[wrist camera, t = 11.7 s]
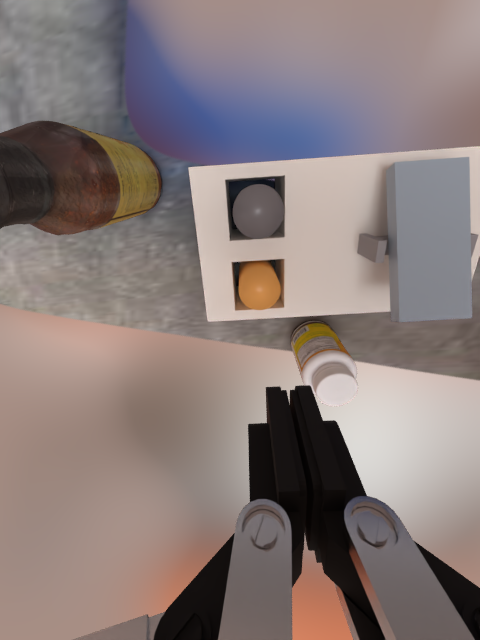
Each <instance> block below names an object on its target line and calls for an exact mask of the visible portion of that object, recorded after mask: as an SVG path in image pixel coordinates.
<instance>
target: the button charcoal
mask: <svg viewBox="0 0 480 640" xmlns="http://www.w3.org/2000/svg"><path fill="white" fill-rule="evenodd" d="M283 215H284V206H283V202H282V199H281V197H280V196H279V194H278V193H277V192H276V191H275V190H274V189H273V188H271V187H269V186H267V185H263V184H255V185H251V186H248V187H246V188H244V189H243V190H242V191H241V192H240V193H239V194H238V196H237V198H236V200H235V202H234V206H233V219H234V222H235V225H236V226H237V228H238V229H239V231H240V232H241V233H243V234H244V235H245V236H247V237H250V238H253V239H262V238H266V237H268V236H270V235H272V234H273V233H274V232H275V231H276V230H277V229H278V228H279V226H280V225H281V222H282V220H283Z"/></svg>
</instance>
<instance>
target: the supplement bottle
mask: <svg viewBox="0 0 480 640" xmlns="http://www.w3.org/2000/svg"><path fill="white" fill-rule="evenodd" d="M291 346H292V350H293V353H294V356H295V359H296V362H297V365H298V368H299V371H300V374H301V377H302V380H303V383H304V385H310V386H311V388H312V391H313V394H315V395H316V396H317V398H318V399H319V401H320V402H322V403H323V404H325V405H328V406H341V405H344V404H346V403H348V402H350V401H351V400H352V399H353V398H354V397H355V396H356V394H357V391H358V384H357V382H356V376H357V368H356V365H355V363H354V361H353V359H352V358H351V356H350V355H349V353H348V352H347V350H346V349H345V347H344V346H343V344H342V343H341V341H340V340H339V339H338V337H337V335H336V334H335V332H334V331H333V330H332V328H331V327H330V326H329V325H327V324H326V323H324V322H321V321H309V322H306V323H303V324H302V325H300V326H299V327H298V328H297V329H296V330H295V331H294V333H293V335H292V338H291Z"/></svg>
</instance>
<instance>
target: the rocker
mask: <svg viewBox="0 0 480 640" xmlns="http://www.w3.org/2000/svg"><path fill="white" fill-rule="evenodd" d="M386 187H387V219H388V242H387V244H386V250H385V255H389V283H390V315H391V321H394V322H411V321H429V320H447V319H466V318H472V278H471V221H470V164H469V157H459V158H445V159H431V160H417V161H403V162H394V163H393V164H392V165H391V166H390V167H389V168H388V169H387V170H386Z"/></svg>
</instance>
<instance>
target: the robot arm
mask: <svg viewBox="0 0 480 640" xmlns="http://www.w3.org/2000/svg"><path fill="white" fill-rule="evenodd" d="M266 408H267V423H260V424H249V425H248V432H249V433H248V434H249V476H250V478H249V480H250V503H248V504H247V505H246V506H245V507H244V508H243V509H242V511H241V512H240V514H239V516H238V519H237V523H236V529H235V533H234V534H233V535H232V536H231V538H230V539H229V540H228V541H227V542H226V543H225V544H224V545H223V547H222V548H221V549H220V550H219V551H218V552H217V553H216V555H215V556H214V557H213V558H212V559H211V560H210V561H209V562H208V564H207V565H206V566H205V567H204V568H203V569H202V570H201V571H200V572H199V574H198V575H197V576H196V577H195V578H194V579H193V580H192V581H191V583H190V584H189V585H188V586H187V587H186V588H185V589H184V590H183V592H182V593H181V594H180V595H179V596H178V597H177V599H176V600H175V601H174V602H173V603H172V604H171V605H170V606H169V607H168V609H167V610H166V612H163V613H160V614H157V615H155V616H152V617H148V615H144V616H141V617H138V618H135V619H132V620H129V621H127V622H124V623H120V624H118V625H114V626H112V627H109V628H106V629H103V630H100V631H97V632H94V633H91V634H88V635H85V636H82V637H79V638H76V639H74V640H292V587H293V586H294V584H295V582H296V580H297V579H298V578H299V576H300V574H301V571H302V556H303V550H304V535H305V536H306V541H307V546H308V550H314V551H315V555H316V560H317V563H318V562H319V563H320V562H321V563H322V565H323V570H324V573H325V574H326V575H327V576H328V577H329V578H330V579H331V580H332V581H333V582H334V583H335V587H336V591H337V594H338V597H339V600H340V603H341V606H342V608H343V611H344V614H345V617H346V620H347V623H348V626H349V628H350V631H351V634H352V637H353V640H480V588H479V587H478V586H476V585H475V584H473V583H472V582H471V581H469V580H468V579H466V578H465V577H464V576H462V575H461V574H459V573H458V572H457V571H455V570H454V569H452V568H451V567H449V566H448V565H447V564H445V563H444V562H443V561H441V560H440V559H438V558H437V557H435V556H434V555H433V554H431V553H430V552H429V551H427V550H426V549H424V548H423V547H422V546H420V545H419V544H417V543H416V542H415V541H413V540H412V538H411V536H410V534H409V533H408V531H407V530H406V528H405V526H404V525H403V523H402V522H401V520H400V518H399V517H398V516H397V515H396V513H395V512H394V511H393V510H392V509H391V508H390V507H389V506H388V505H386V504H385V503H383V502H382V501H380V500H378V499H376V498H372V497H369V496H367V495H366V493H365V491H364V488H363V486H362V483H361V480H360V478H359V475H358V473H357V471H356V468H355V465H354V463H353V460H352V458H351V456H350V453H349V451H348V448H347V446H346V443H345V441H344V438H343V436H342V433H341V431H340V428H339V426H338V424H337V422H336V421H323V420H322V417H321V414H320V411H319V408H318V406H317V402H316V400H315V397H314V394H313V391H312V388H311V386H310V385H305V386H296V387H295V390H290V405H289V401H288V396H287V392H286V390H282V391H281V388H280V387H266ZM304 533H305V534H304Z"/></svg>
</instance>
